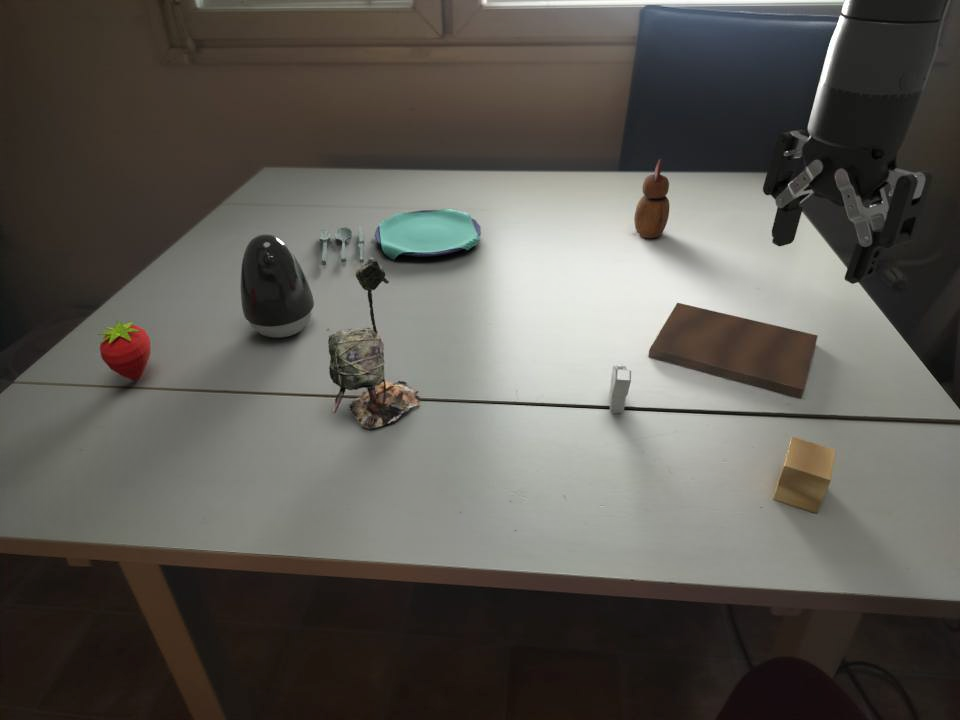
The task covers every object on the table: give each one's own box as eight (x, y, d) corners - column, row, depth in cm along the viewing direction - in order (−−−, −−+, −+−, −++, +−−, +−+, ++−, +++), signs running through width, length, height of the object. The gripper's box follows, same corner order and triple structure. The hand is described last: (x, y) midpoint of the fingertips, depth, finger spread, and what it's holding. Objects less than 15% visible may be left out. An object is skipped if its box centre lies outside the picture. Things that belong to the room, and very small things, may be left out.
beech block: (822, 483, 73) (836, 449, 70) (817, 514, 70) (830, 480, 67) (780, 469, 75) (791, 436, 72) (772, 499, 71) (784, 465, 68)
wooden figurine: (658, 244, 122) (670, 163, 113) (628, 238, 124) (637, 158, 116) (669, 230, 127) (681, 152, 118) (640, 224, 129) (650, 147, 120)
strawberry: (166, 360, 95) (144, 300, 89) (155, 393, 89) (131, 329, 83) (122, 366, 94) (97, 305, 88) (108, 399, 88) (80, 335, 82)
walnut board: (815, 344, 95) (817, 335, 94) (800, 398, 85) (804, 389, 84) (675, 310, 103) (677, 302, 102) (648, 357, 93) (649, 348, 92)
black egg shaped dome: (253, 354, 96) (227, 258, 87) (245, 319, 104) (221, 228, 95) (323, 338, 99) (306, 244, 90) (311, 305, 106) (294, 216, 98)
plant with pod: (327, 400, 87) (300, 262, 75) (411, 381, 90) (397, 245, 78) (338, 440, 80) (310, 296, 69) (428, 418, 83) (416, 276, 72)
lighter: (609, 391, 87) (615, 341, 82) (623, 392, 87) (629, 342, 82) (609, 427, 81) (616, 375, 77) (624, 428, 81) (631, 376, 76)
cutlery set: (489, 258, 119) (489, 247, 117) (319, 274, 115) (316, 262, 114) (472, 214, 135) (472, 204, 133) (321, 227, 131) (320, 216, 130)
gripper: (991, 92, 49) (912, 285, 59) (833, 57, 60) (788, 225, 69) (921, 105, 47) (851, 305, 56) (769, 66, 57) (732, 240, 67)
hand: (816, 261), depth 63 cm, fingers open, 8 cm apart
